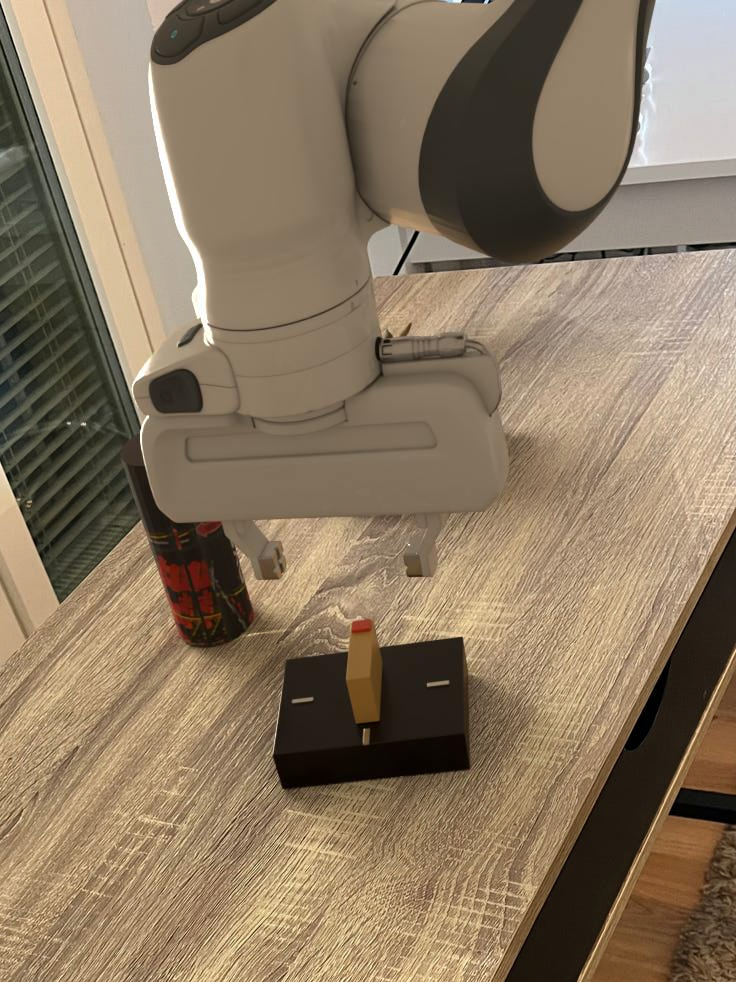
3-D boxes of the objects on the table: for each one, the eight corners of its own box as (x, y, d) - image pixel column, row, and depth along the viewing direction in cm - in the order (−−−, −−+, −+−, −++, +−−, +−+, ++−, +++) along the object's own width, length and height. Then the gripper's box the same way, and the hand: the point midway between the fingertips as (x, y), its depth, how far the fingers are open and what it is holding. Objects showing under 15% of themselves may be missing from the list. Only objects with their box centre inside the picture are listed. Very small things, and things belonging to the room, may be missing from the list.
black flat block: (468, 671, 87) (462, 632, 84) (470, 771, 79) (464, 731, 77) (295, 692, 89) (285, 656, 87) (282, 791, 82) (271, 753, 80)
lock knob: (379, 721, 80) (369, 673, 78) (355, 724, 80) (344, 676, 78) (382, 663, 84) (373, 616, 82) (360, 666, 85) (349, 619, 82)
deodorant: (169, 620, 100) (110, 444, 90) (238, 591, 100) (187, 413, 90) (193, 657, 95) (133, 475, 85) (265, 626, 96) (215, 443, 86)
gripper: (507, 300, 65) (531, 538, 74) (147, 336, 72) (210, 547, 82) (481, 358, 61) (510, 602, 70) (103, 390, 68) (174, 605, 78)
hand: (345, 573), depth 76 cm, fingers open, 8 cm apart
